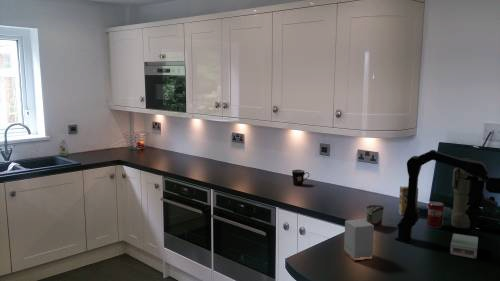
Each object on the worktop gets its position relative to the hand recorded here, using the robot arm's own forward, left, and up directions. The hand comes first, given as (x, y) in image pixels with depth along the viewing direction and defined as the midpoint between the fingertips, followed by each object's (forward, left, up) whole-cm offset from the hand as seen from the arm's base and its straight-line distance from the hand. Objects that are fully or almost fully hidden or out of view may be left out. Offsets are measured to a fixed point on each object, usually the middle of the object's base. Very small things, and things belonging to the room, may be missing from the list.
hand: (473, 225), depth 186 cm
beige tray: (-1, +3, -12) cm, 12 cm away
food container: (-5, +47, -12) cm, 49 cm away
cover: (-1, +3, -9) cm, 9 cm away
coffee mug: (+26, +126, -12) cm, 129 cm away
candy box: (+26, +45, -12) cm, 54 cm away
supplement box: (-42, +29, -12) cm, 52 cm away
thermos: (+30, +18, -12) cm, 38 cm away
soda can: (+19, +26, -12) cm, 35 cm away
